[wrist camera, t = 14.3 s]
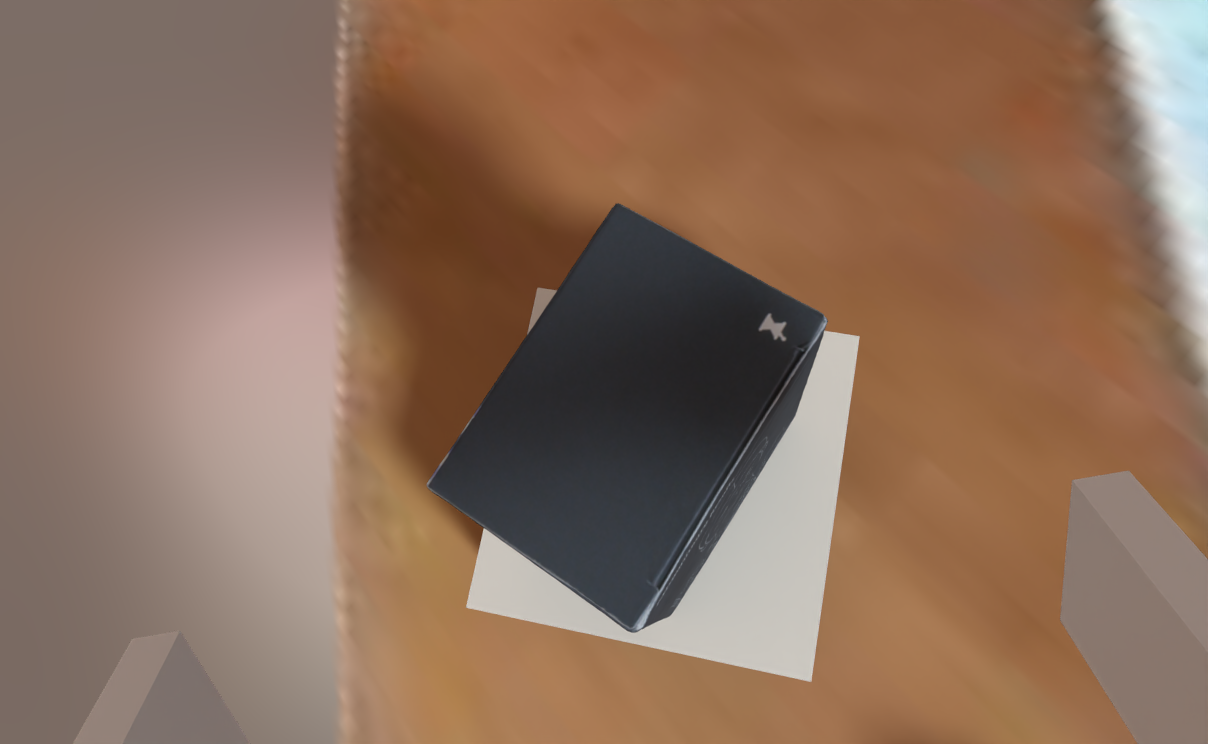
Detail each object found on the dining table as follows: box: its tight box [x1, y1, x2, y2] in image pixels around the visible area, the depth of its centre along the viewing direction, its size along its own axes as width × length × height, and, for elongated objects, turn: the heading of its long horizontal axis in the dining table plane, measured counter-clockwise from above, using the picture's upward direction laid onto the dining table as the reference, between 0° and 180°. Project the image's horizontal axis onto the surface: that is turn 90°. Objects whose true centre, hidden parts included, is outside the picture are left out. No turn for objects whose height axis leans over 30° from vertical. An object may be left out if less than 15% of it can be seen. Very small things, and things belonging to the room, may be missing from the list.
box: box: [427, 203, 828, 633], centre depth 24 cm, size 8×6×11 cm
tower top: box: [466, 288, 860, 682], centre depth 31 cm, size 11×11×4 cm
